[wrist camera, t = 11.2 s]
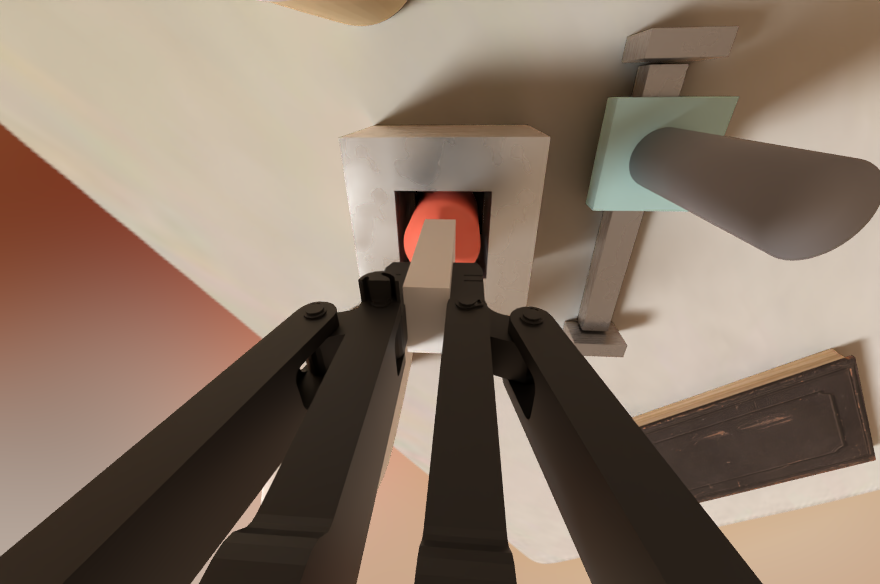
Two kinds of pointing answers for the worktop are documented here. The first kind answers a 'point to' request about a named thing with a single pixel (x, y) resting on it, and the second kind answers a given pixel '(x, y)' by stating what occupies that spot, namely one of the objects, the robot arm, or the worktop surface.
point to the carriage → (728, 176)
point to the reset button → (447, 207)
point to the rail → (622, 226)
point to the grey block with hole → (449, 169)
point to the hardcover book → (765, 428)
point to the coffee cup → (346, 9)
